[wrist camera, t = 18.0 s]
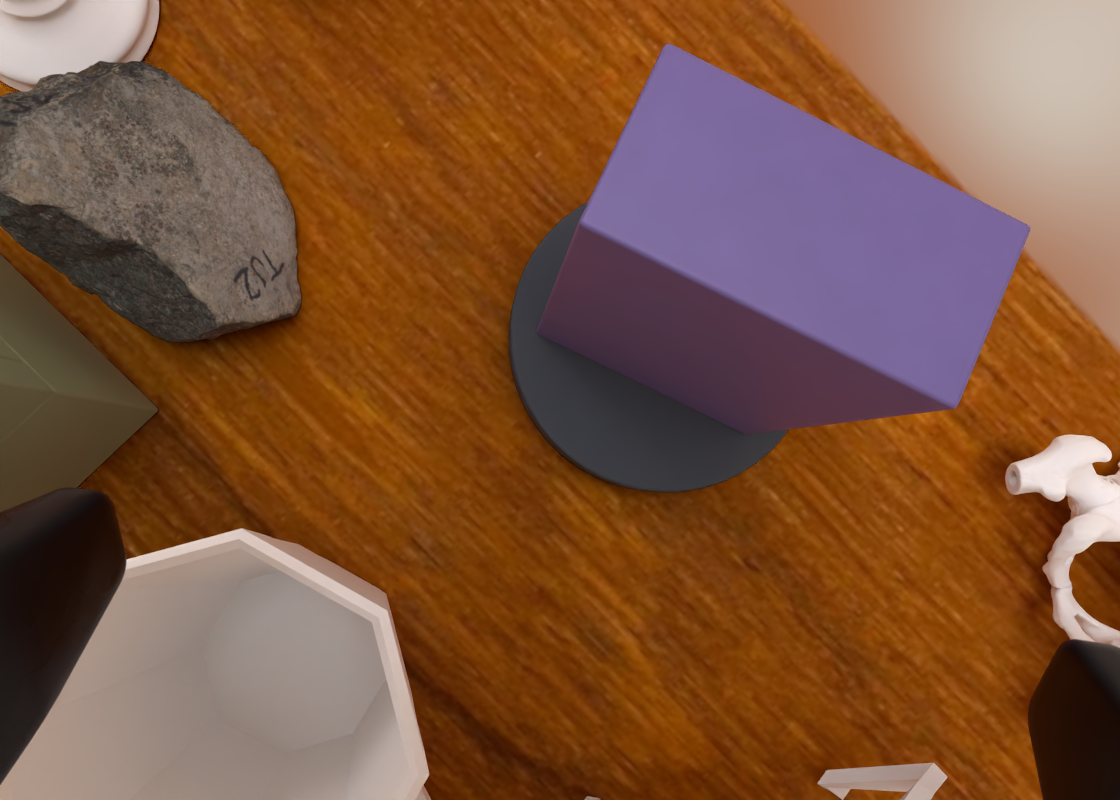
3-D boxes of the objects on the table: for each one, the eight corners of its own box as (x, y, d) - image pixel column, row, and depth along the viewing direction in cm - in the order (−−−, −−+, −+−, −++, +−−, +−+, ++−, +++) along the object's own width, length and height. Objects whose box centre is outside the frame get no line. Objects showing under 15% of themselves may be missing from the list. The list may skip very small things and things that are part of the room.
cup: (339, 449, 21) (254, 438, 13) (575, 758, 21) (632, 932, 13) (106, 622, 21) (-134, 722, 13) (351, 945, 20) (268, 1252, 12)
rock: (276, 362, 23) (302, 376, 19) (-36, 293, 20) (-96, 289, 16) (329, 144, 23) (367, 105, 19) (24, 39, 20) (-18, -38, 16)
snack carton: (793, 331, 22) (1034, 225, 12) (746, 436, 21) (958, 410, 12) (585, 229, 21) (666, 39, 12) (534, 333, 21) (578, 223, 11)
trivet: (755, 528, 22) (770, 532, 21) (469, 438, 22) (468, 437, 21) (833, 250, 23) (852, 239, 22) (560, 157, 23) (564, 140, 21)
